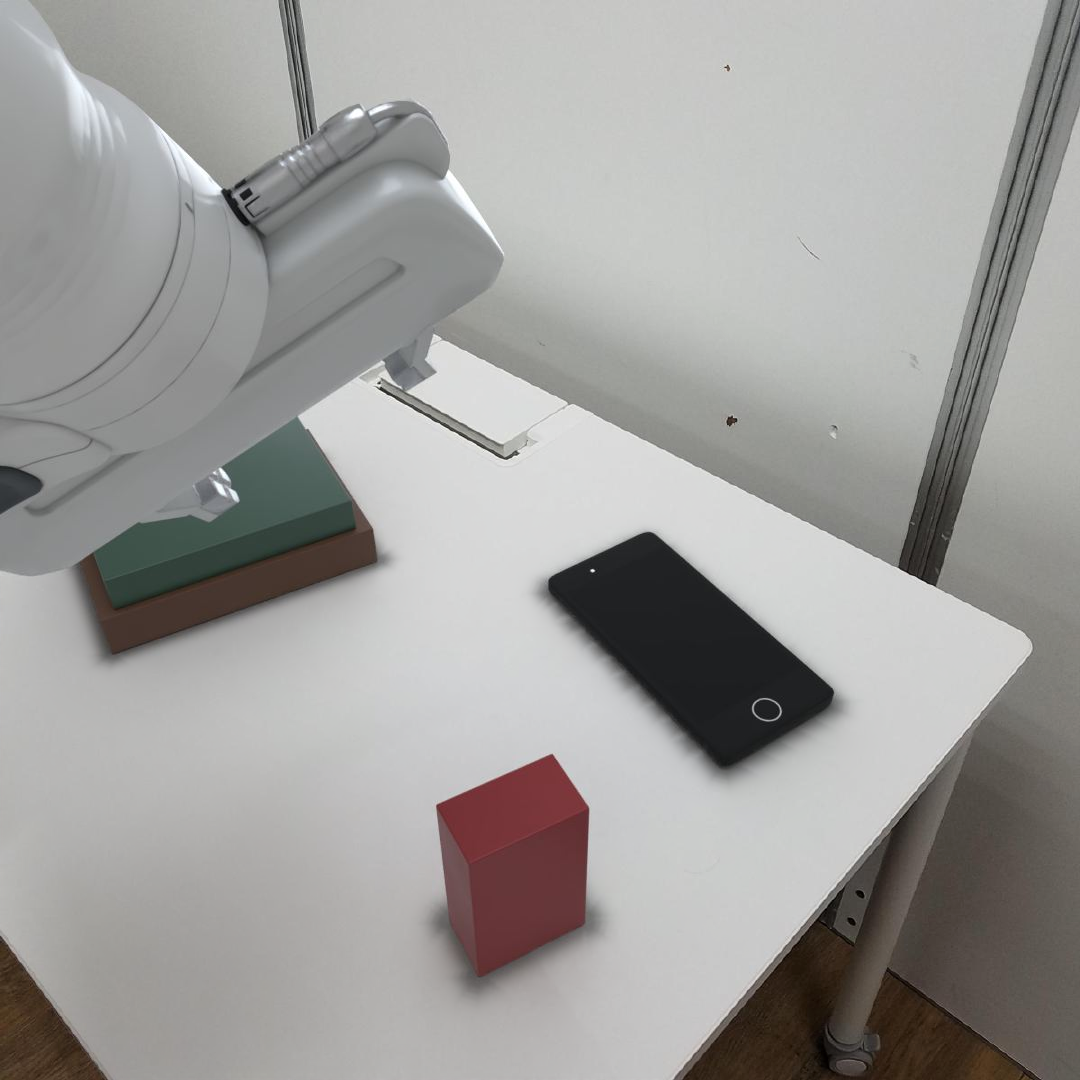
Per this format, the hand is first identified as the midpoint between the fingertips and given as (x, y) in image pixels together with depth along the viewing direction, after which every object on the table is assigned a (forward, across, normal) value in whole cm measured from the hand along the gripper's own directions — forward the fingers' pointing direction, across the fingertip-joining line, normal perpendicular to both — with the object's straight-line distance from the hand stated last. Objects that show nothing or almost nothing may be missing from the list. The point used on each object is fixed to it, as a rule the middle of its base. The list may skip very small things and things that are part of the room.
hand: (315, 433), depth 44 cm
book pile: (+30, +17, -13) cm, 36 cm away
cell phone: (+32, -6, +10) cm, 34 cm away
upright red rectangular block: (+18, +7, +20) cm, 28 cm away
